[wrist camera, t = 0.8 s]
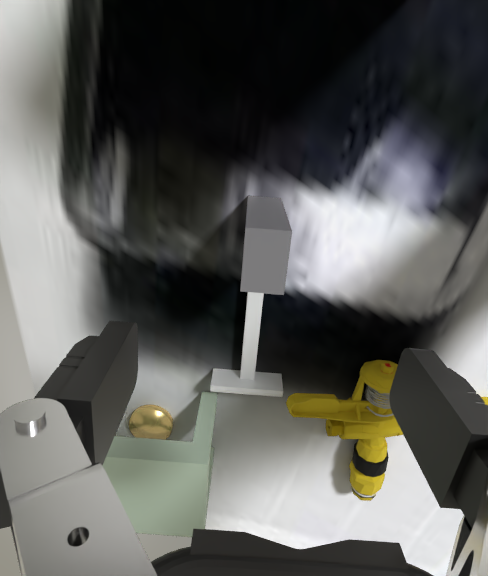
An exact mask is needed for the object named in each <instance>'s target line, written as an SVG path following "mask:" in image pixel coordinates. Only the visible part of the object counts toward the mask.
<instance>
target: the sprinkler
mask: <svg viewBox="0 0 488 576" xmlns="http://www.w3.org/2000/svg"><path fill="white" fill-rule="evenodd" d="M397 366H398V365H397V364H395V363H393V362H391V361H386V360H374V361H370V362H366V363H364V365H363V366H362V367H361V370H360V377H359V380H358V382H357V385H356V387H355V390H354V392H353V395H352V398H349V399H348V400H339V399H338V398H337V397H336V396H335V395H334V394H311V393H294V394H292V395H290V396H289V397H288V399H287V402H286V405H287V407H288V410H289V413H290V414H291V415H292V416H293V417H306V418H322V419H327V420H326V431H327V434H328V436H337V435H339V437H340V438H341V439H359V440H358V442H357V443H356V444H355V446H354V452H353V458H352V460H351V463H350V465H349V467H350V470H351V474H350V483H351V487H352V491H353V494H354V495H356V496H357V497H358V498H359V499H360V500H370V501H371V500H372V499H373V498H374V497H375V496H376V493H377V491H379V490H380V489H381V486H382V484H383V481H384V477H385V474H384V472H385V471H386V467H387V462H388V452H387V443H386V440H385V437H391V436H398V435H403V432H402V431H401V429H400V427H399V425H398V423H397V421H396V419H395V417H394V415H393V413H392V410H391V407H390V400H389V396H390V389H391V386H392V383H393V379H394V376H395V373H396V369H397ZM365 383H366V390H365V396H364V401H361V398H362V393H363V389H364V384H365ZM370 389H371V390H370ZM372 391H374V392H375V393H373V392H372ZM370 394H371V395H372V396H373V397H374V398H373V397H372V396H371V395H370ZM369 396H370V397H371V398H373V400H372V399H371V398H370V397H369ZM366 398H367V400H368V401H366ZM481 398H482V399H483V400H484V402H485V405H488V397H481Z"/></svg>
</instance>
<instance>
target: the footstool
mask: <svg viewBox="0 0 488 576" xmlns="http://www.w3.org/2000/svg"><path fill="white" fill-rule="evenodd" d="M216 407H217V393H214V392H202V395H201V400H200V405H199V410H198V415H197V421H196V426H195V431H194V436H193V442H187V441H174V440H161V439H149V438H136V437H123V436H114V439H113V441H112V444H111V446H110V449H109V451H108V453H107V456H106V458H105V461H104V463H103V465H102V466H103V468H104V470H105V471H106V473H107V475H108V477H109V480H110V482H111V484H112V486H113V488H114V490H115V492H116V494H117V496H118V498H119V500H120V502H121V504H122V506H123V508H124V510H125V512H126V514H127V516H128V518H129V520H130V522H131V524H132V526H133V528H134V530H135V532H136V533H142V534H156V535H170V536H182V537H192V535H193V529H205V524H206V515H207V507H208V499H209V490H210V482H211V474H212V466H213V456H214V448H212V447H211V445H212V437H213V430H214V422H215V415H216Z"/></svg>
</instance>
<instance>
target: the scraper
mask: <svg viewBox="0 0 488 576" xmlns="http://www.w3.org/2000/svg"><path fill="white" fill-rule="evenodd" d="M291 236H292V230H291V227H290V224H289V221H288V218H287V215H286V212H285V209H284V206H283V203H282V200H281V198H272V197H260V196H248V202H247V214H246V226H245V239H244V251H243V263H242V276H241V288H240V291H242V292H248V294H247V305H246V316H245V327H244V338H243V349H242V361H241V370H228V369H215V368H213V374H212V380H211V387H210V391H212V392H224V393H237V394H250V395H263V396H275V397H283V384H282V374H278V373H266V372H255V368H256V359H257V350H258V340H259V331H260V322H261V312H262V303H263V294H264V293H267V294H279V295H284V289H285V281H286V274H287V266H288V259H289V251H290V243H291Z"/></svg>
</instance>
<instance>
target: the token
mask: <svg viewBox="0 0 488 576" xmlns="http://www.w3.org/2000/svg"><path fill="white" fill-rule="evenodd" d="M172 427H173V419H172V417H171V415H170V414H169V412H168V411H166V410H165V409H163V408H162V407H159V406H156V405H143V406H140V407H138V408H137V409H136V410H135V411H134V412H133V413H132V415H131V418H130V420H129V429H130V431H131V433H132V434H133V435H134V436H135V437H136V438H149V439H161V440H166V439H167V438H168V437H169V436H170V434H171V431H172Z"/></svg>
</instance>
